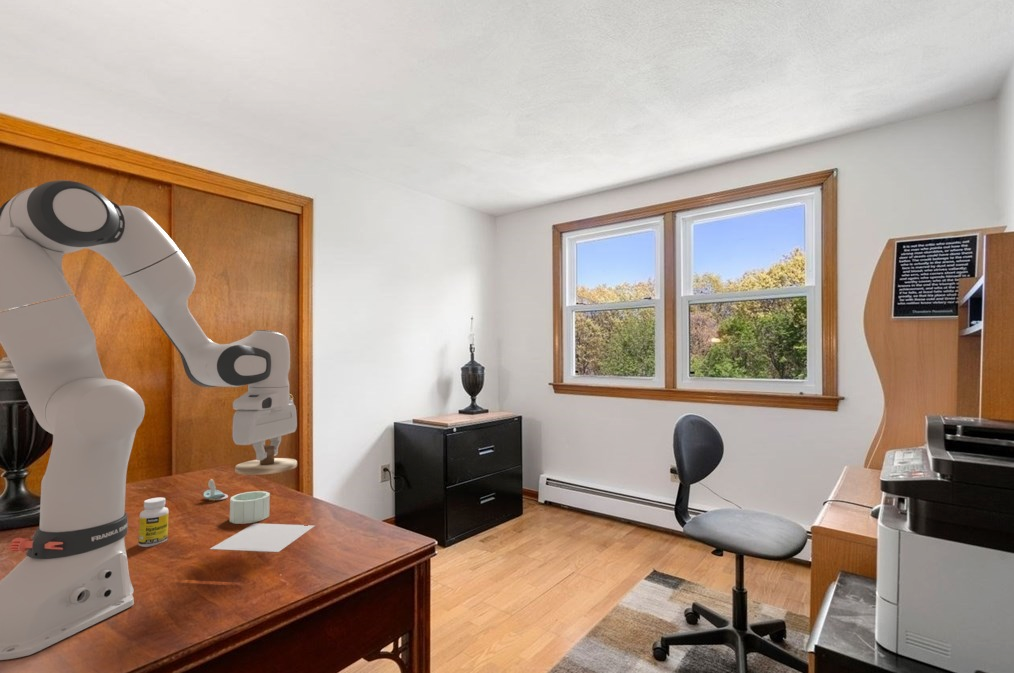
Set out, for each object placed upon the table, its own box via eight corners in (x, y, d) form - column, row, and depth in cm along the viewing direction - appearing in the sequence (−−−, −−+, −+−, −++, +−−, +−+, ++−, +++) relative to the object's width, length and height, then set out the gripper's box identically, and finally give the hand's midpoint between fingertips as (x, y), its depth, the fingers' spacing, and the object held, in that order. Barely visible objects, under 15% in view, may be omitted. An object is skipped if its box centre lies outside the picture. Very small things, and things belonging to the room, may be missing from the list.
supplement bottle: (142, 549, 105) (144, 504, 105) (134, 543, 108) (136, 500, 108) (171, 542, 109) (172, 499, 109) (163, 536, 112) (164, 494, 113)
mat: (278, 554, 102) (278, 551, 102) (209, 551, 104) (209, 548, 104) (315, 527, 118) (315, 525, 118) (254, 525, 120) (254, 523, 120)
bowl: (255, 526, 119) (255, 501, 120) (221, 524, 120) (222, 500, 120) (276, 514, 128) (276, 491, 129) (244, 513, 129) (245, 490, 129)
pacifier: (224, 495, 147) (201, 498, 143) (225, 474, 147) (203, 477, 143) (230, 500, 141) (207, 504, 137) (232, 479, 142) (209, 482, 138)
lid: (277, 475, 105) (278, 452, 105) (222, 474, 106) (222, 451, 106) (307, 462, 118) (307, 442, 118) (257, 461, 119) (258, 441, 119)
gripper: (281, 395, 123) (279, 449, 123) (227, 402, 103) (225, 467, 102) (304, 395, 123) (302, 449, 122) (254, 403, 102) (253, 467, 102)
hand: (267, 457), depth 112 cm, fingers closed on lid, 3 cm apart
